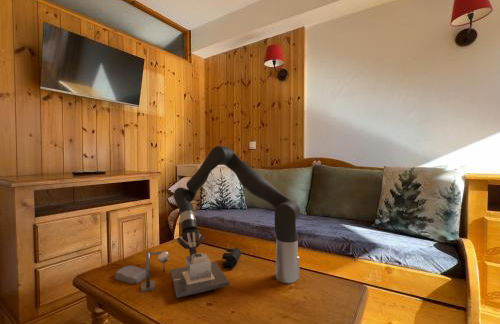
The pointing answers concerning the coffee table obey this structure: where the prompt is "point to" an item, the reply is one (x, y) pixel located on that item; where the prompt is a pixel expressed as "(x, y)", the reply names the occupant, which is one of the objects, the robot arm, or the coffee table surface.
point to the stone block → (131, 274)
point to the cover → (198, 267)
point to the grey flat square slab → (187, 288)
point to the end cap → (231, 258)
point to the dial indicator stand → (149, 284)
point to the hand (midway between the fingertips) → (193, 256)
